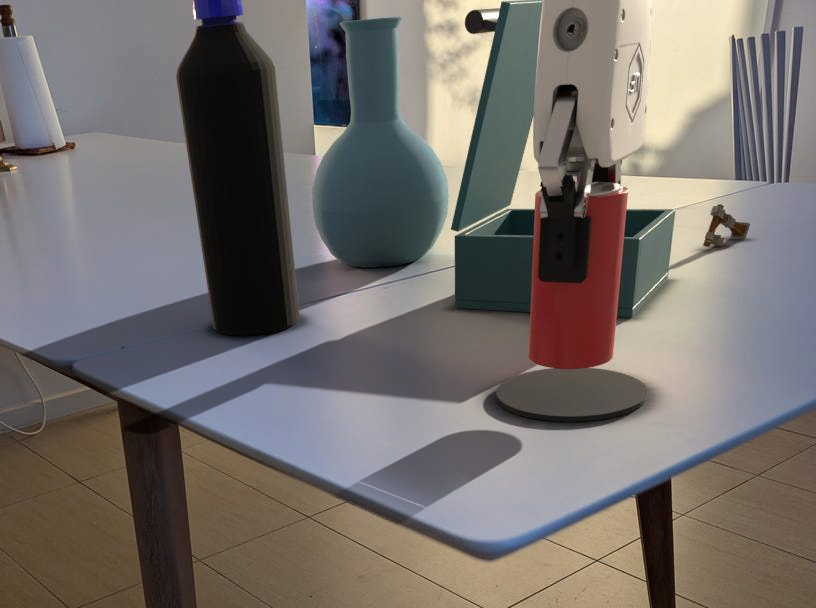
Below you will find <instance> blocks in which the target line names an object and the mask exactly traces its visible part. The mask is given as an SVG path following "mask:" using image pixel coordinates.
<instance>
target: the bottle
mask: <svg viewBox="0 0 816 608" xmlns="http://www.w3.org/2000/svg"><path fill="white" fill-rule="evenodd" d="M192 13H193V20H196V21H198V20H199V21H201V25H197V26H196V29H195V34H194V37H193V39H192V41H191V43H190V45H189V47H188V48H187V50H186V52H185V53H184V55H183V57H182V58H181V61H180V63H179V65H178V67H177V68H176V69H177V70H176V74H175V79H176V85H177V92H178V99H179V106H180V113H181V119H182V120H181V121H182V126H183V132H184V139H185V146H186V152H187V159H188V166H189V173H190V179H191V186H192V192H193V198H194V207H195V212H196V220H197V226H198V233H199V239H200V247H201V253H202V260H203V266H204V267H203V268H204V272H205V279H206V286H207V287H206V288H207V293H208V300H209V306H210V312H211V321H212V326H213V329H214V330H215V331H217V332H218V333H219V334H223V335H226V336H227V335H228V336H236V337H237V336H238V337H247V336H259V335H261V336H262V335H267V334H273V333H276V332H277V333H278V332H280V331H284V330H287V329H289V328H291V327H294V326H295V325H296V324H297V322H299V320H300V307H299V297H298V288H297V287H298V286H297V278H296V277H297V276H296V268H295V267H296V266H295V258H294V250H293V249H294V247H293V236H292V228H291V227H292V226H291V217H290V208H289V207H290V206H289V205H290V204H289V197H288V186H287V176H286V174H287V173H286V166H285V154H284V145H283V134H282V125H281V116H280V115H281V114H280V105H279V94H278V93H279V92H278V85H277V75H276V66H275V64H274V61H273V59H272V57H270V56H269V55H268V53H267V52H266V51H265V50H264V49H263V48H262V46H260V44H258V42H256V41H255V39H254V38H253V37H252V35H251V34H250V33H249V32H248V31H247V29H246V26H245V24H244V22H243V21H238V19H237V17H241V16H244V7H243V0H192Z"/></svg>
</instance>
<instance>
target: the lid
mask: <svg viewBox="0 0 816 608" xmlns="http://www.w3.org/2000/svg"><path fill="white" fill-rule="evenodd" d="M542 3H543V0H503V1H501V2H500V7H497V8H496V7H495V8H483V9H482V8H481V9H472V10H470V11H468V12H467V14H466V16H465V18H464V27H465V30H466V31H467V32H468V33H469V34H470V35H479V34H485V33H486V34H487V33H493V37H492V42H491V47H490V51H489V55H488V60H487V65H486V70H485V73H484V78H483V82H482V88H481V92H480V96H479V101H478V105H477V109H476V115H475V118H474V124H473V128H472V132H471V136H470V141H469V146H468V150H467V154H466V159H465V164H464V168H463V172H462V177H461V182H460V186H459V190H458V194H457V198H456V199H457V200H456V204H455V209H454V213H453V218H452V221H451V226H450V230H451V231H454V232H457V233H458V232H459V233H460V231H462V230H464V229H467V228H469V227H470V226H472V225H474V224H476V223H479V222H480V221H482V220H484V219H486V218H489V217H491V216H492V215H493V214H494V215H495V214H496V213H499V212H501V210H502V211H503V210H505V209H506V208H507V207H510V206H511V204H512V201H513V197H514V193H515V190H516V185H517V181H518V177H519V174H520V170H521V166H522V162H523V158H524V154H525V150H526V147H527V143H528V138H529V135H530V131H531V127H532V125H533V117H534V96H535V80H536V66H537V54H538V42H539V32H540V20H541V12H542Z"/></svg>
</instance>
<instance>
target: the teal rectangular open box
mask: <svg viewBox="0 0 816 608" xmlns="http://www.w3.org/2000/svg"><path fill="white" fill-rule="evenodd" d="M534 214H535V208H505V209H503V210H502V211H499V212H497V214H496V213H495V214H494V215H493V216H492V215H491V216H490V217H488V218H487V219H485V220H483V221H481V222H478V223H477V224H475V225H473V226H471V227H468V228H466V229H465V230H464V231H462V232H459V233H458V234H455V235H454V308H455V309H463V310H479V311H480V310H483V311H484V310H485V311H503V312H517V313H518V312H520V313H530V310H531V286H532V262H533V238H534ZM675 217H676V209H675V208H627V209H626V220H625V231H624V242H623V253H622V264H621V274H620V285H619V296H618V307H617V318H628V319H629V318H633V317H634V316H635V315H636V314H637V313H638V312H639V311H640V310H641V309H642V308H643V307H644V305H646V303H647V302H648V301H649V300H650V299H651V298H652V297H653V296H654V295H655V294H656V293H657V292H658V291H659V290H660V289H661V288H662V287H663V286H664V284H666V283H667V282H668V279H669V270H670V261H671V254H672V253H671V252H672V244H673V235H674V227H675V220H676V219H675Z"/></svg>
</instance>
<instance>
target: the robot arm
mask: <svg viewBox="0 0 816 608" xmlns="http://www.w3.org/2000/svg"><path fill="white" fill-rule="evenodd" d="M652 2H653V0H543V3H542V12H541V20H540V32H539V42H538V54H537V66H536V80H535V96H534V116H533V120H532V125H533V126H532V149H533V157H534V160H535V162H537V169H538V173H539V177H540V180H541V181H540V184H539V187H540V190H539V191H541V192H542V198H541V204H540V217H541V220H540V242H539V264H538V278H539V280H540V281H542V282H560V283H582V282H583V281H584V280H586V278H587V274H588V260H589V247H590V233H591V220H592V216H586V212H587V207H588V201H589V195H590V189H591V183H592V182H611V183H617V184H620V185H622V165H623V160H625V159H627V158H629V157H631V156H632V155H634V154H635V153H636V152H637V151H639V149H640V148H641V147H642V146H643V144H644V142H645V136H646V126H647V125H646V124H647V109H648V93H649V79H650V77H649V76H650V63H651V62H650V59H651V41H652V16H653V15H652V13H653V11H652V9H653V7H652V6H653V3H652ZM571 158H575V161H567V160H569V159H571ZM574 177H576V181H575V180H574ZM575 182H578V187H577V192H576V188H575Z"/></svg>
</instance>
